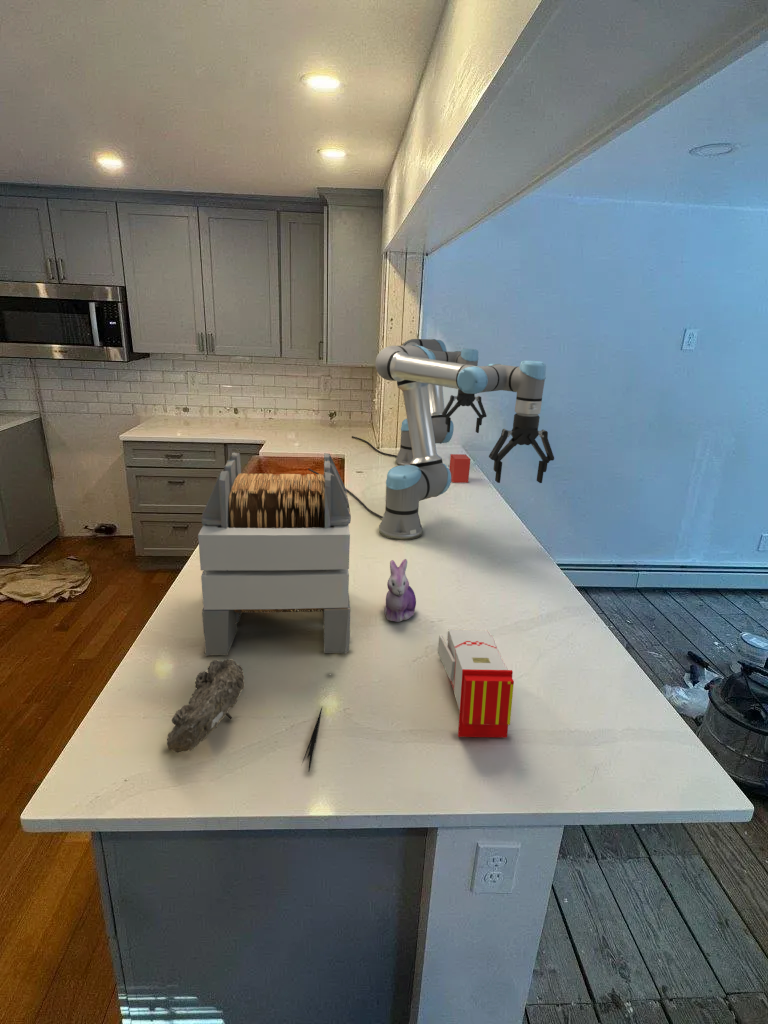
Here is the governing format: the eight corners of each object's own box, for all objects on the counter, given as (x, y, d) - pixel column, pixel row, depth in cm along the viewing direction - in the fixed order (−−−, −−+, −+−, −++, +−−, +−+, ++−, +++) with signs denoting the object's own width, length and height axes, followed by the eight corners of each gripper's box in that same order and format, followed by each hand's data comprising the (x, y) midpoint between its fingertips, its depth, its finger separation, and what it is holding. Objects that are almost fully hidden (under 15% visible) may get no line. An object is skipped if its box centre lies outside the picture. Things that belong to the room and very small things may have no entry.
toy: (488, 613, 130) (523, 677, 101) (484, 667, 133) (517, 744, 104) (435, 612, 130) (455, 676, 101) (432, 666, 133) (451, 743, 103)
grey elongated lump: (192, 660, 117) (244, 628, 112) (224, 691, 120) (276, 661, 115) (142, 746, 98) (202, 712, 93) (182, 779, 101) (242, 748, 96)
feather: (331, 679, 122) (336, 673, 122) (307, 777, 96) (313, 769, 95) (324, 675, 122) (329, 669, 121) (298, 772, 95) (304, 764, 95)
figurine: (392, 627, 141) (395, 572, 136) (374, 608, 149) (376, 556, 144) (425, 619, 145) (429, 566, 140) (405, 601, 154) (408, 550, 149)
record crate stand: (226, 586, 157) (217, 442, 143) (344, 585, 161) (346, 445, 147) (202, 658, 125) (189, 482, 112) (350, 654, 129) (354, 483, 115)
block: (452, 482, 263) (454, 458, 259) (448, 477, 271) (450, 454, 267) (468, 482, 263) (470, 459, 260) (463, 477, 272) (465, 454, 268)
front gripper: (490, 415, 165) (483, 485, 172) (571, 417, 169) (561, 485, 176) (483, 411, 172) (476, 478, 179) (561, 412, 176) (551, 478, 183)
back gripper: (441, 385, 247) (437, 433, 254) (496, 386, 250) (491, 434, 257) (437, 383, 254) (434, 429, 261) (491, 384, 257) (486, 430, 264)
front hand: (518, 481), depth 178 cm, fingers open, 13 cm apart
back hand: (462, 432), depth 259 cm, fingers open, 13 cm apart
